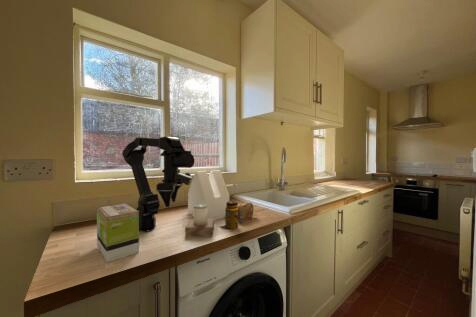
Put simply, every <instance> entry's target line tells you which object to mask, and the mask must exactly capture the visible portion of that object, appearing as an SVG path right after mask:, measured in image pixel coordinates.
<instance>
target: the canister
mask: <svg viewBox="0 0 476 317" xmlns="http://www.w3.org/2000/svg"><path fill="white" fill-rule="evenodd" d="M207 213H208V205H206V204H197V205H194V216H193V219H194V225H205V224H207Z"/></svg>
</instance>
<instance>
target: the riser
mask: <svg viewBox="0 0 476 317" xmlns="http://www.w3.org/2000/svg"><path fill="white" fill-rule="evenodd" d="M214 228H215V219H207V224H205V225H194V218H190V219H189V220H188V222H187V224H186V226H185V232H184V234H185V235H184V236H185V238H213V235H214Z"/></svg>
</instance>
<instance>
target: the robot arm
mask: <svg viewBox="0 0 476 317" xmlns="http://www.w3.org/2000/svg"><path fill="white" fill-rule="evenodd" d="M139 146H140V147H139ZM147 147H155V148H158V149H159V150H163V151H162V152H161V153H160V154H159V156H160V157H163V169H161V171H162V173H163V179H162V181H161V182H158V183H157V184H156V185H155V187H156V188H155V189H156V192H157V193H158V194H159V195H160V197H161V199H162V201H163V203H164V205H165V207H166V208H170V205H171V202H172V203H175V202H176V199H177V196H178V192H179V189H180V188H181V187H182V186H183V184H184V185H186V186H189V185H191V183H192V180H193V176H191V173H190V172H186V173H181V169H179V168H185V169H187V168H189V169H190V168H193V167H194V165H195V157H194V155H193V154H192V150H185V148H184V146H183V145H182V143H181V140H180V138H179V137H174V136H161V137H159V138H154V137H153V138H151V137H146V136H145V137H144V136H143V137H142V136H137V137H135V138H134V139H133V141H131V142H130V143H128V144H127V145H126V146H125V147H124V149H123V150H122V157H123V159H124V162H125V163H126V164H128V165H129V166H130V168H131V171H132V173H133V174H132V175H133V177H134V178H133V179H134V181H135V185H136V187H137V190H138V194H139V197H138V200H137V205H138V206H137V208H135V209H136V210H137V211H139V232H151V231H152V230H154V228H156V227H157V220H156V219H157V217H156V215H157V214H158V213H159V208H160V206H161V203H160V202H161V201H160V198H159V195H158V194H157V193H154V192H152V190H151V187H150V184H149V180H148V177H147V174H146V170H145V168H144V164H143V163H144V160H145V156H144V155H145V154H146V153H147Z"/></svg>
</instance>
